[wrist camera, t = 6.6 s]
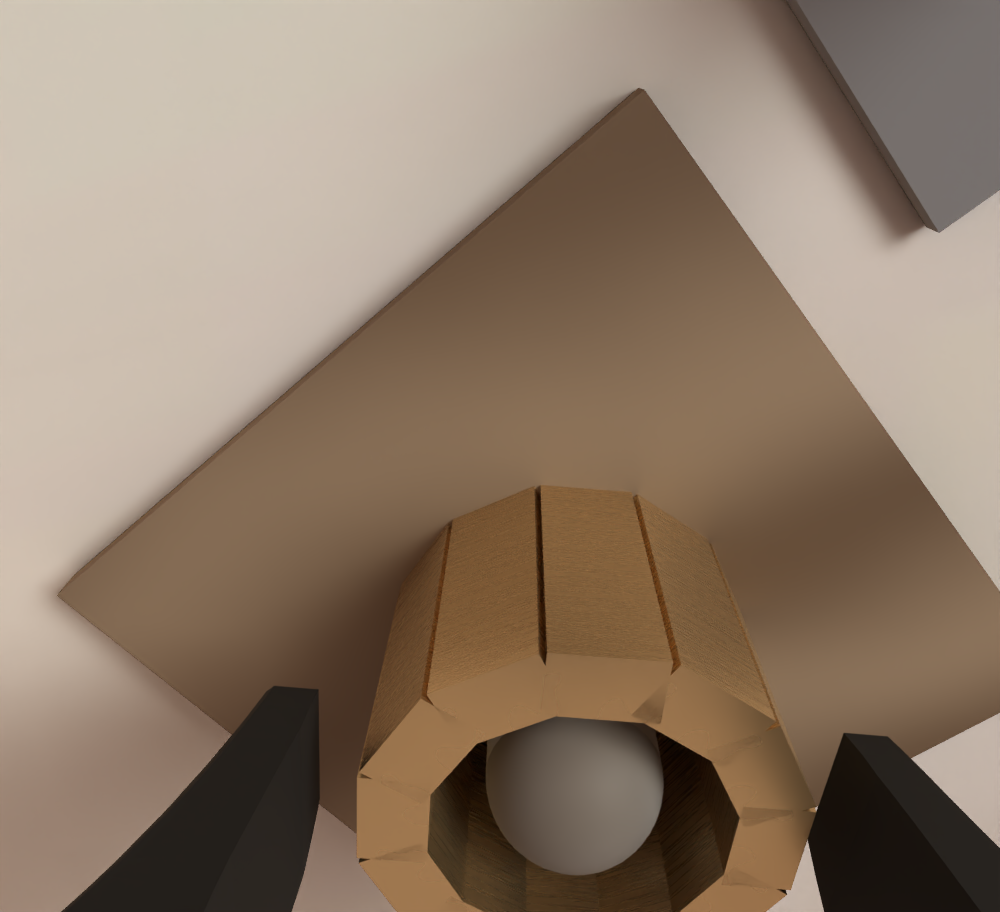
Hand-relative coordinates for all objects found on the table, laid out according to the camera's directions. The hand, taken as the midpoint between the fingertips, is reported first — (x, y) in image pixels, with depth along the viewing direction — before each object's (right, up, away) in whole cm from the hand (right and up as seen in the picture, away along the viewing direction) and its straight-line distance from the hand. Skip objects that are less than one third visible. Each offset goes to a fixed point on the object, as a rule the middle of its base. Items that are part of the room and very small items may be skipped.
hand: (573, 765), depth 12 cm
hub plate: (0, +2, +3) cm, 3 cm away
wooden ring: (0, +1, +2) cm, 3 cm away
